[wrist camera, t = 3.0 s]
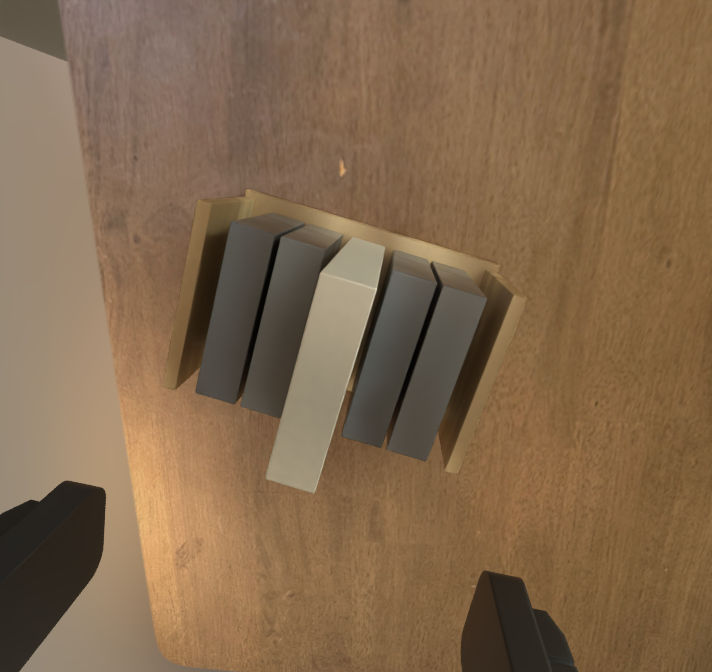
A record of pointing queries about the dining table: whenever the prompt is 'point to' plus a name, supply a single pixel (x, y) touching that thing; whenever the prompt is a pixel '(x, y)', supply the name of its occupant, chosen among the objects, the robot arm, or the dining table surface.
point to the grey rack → (382, 332)
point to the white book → (325, 364)
